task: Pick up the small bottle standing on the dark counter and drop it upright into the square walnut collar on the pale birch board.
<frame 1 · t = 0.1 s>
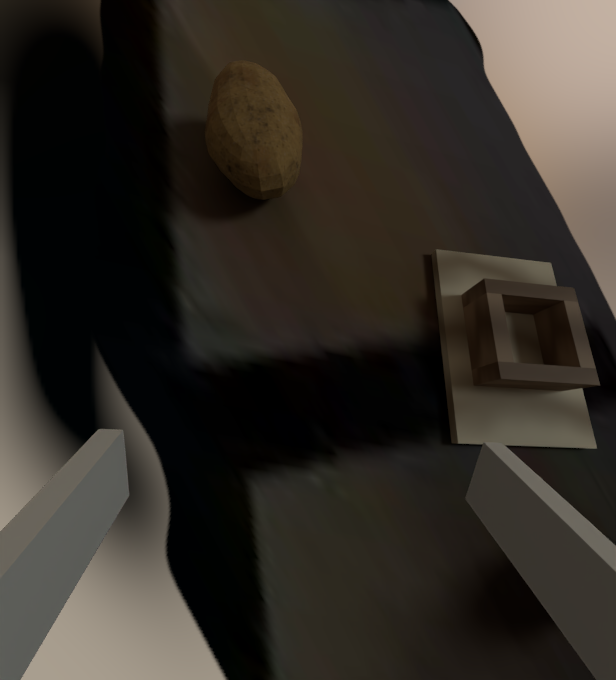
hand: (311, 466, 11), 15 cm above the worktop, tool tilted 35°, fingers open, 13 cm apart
collar board: (503, 344, 32), on the worktop
potato: (257, 175, 34), on the worktop
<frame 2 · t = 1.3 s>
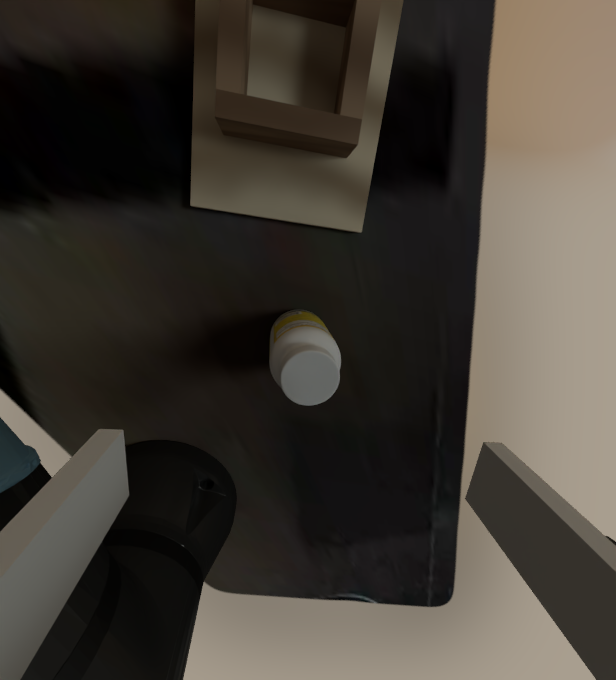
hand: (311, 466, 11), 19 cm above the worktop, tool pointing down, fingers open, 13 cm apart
collar board: (293, 79, 23), on the worktop
supplement bottle: (298, 335, 29), on the worktop
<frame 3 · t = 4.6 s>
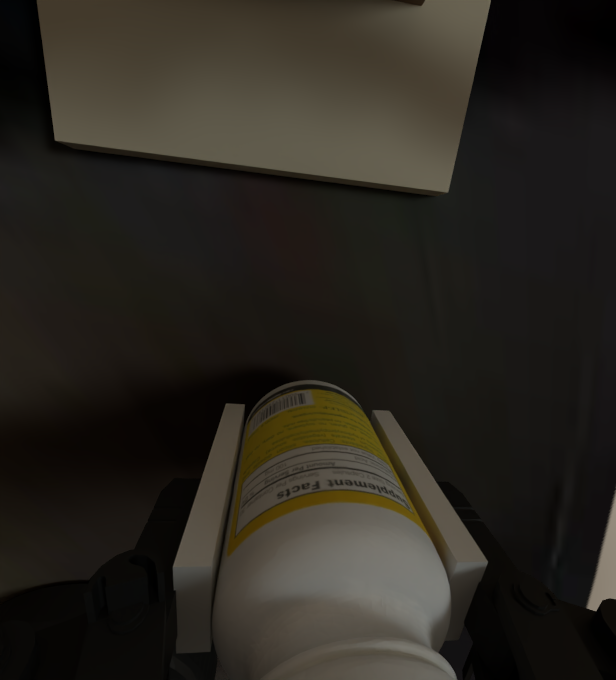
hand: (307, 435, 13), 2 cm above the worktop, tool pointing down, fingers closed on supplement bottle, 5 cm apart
supplement bottle: (306, 429, 14), point 2 cm above the worktop, touching gripper
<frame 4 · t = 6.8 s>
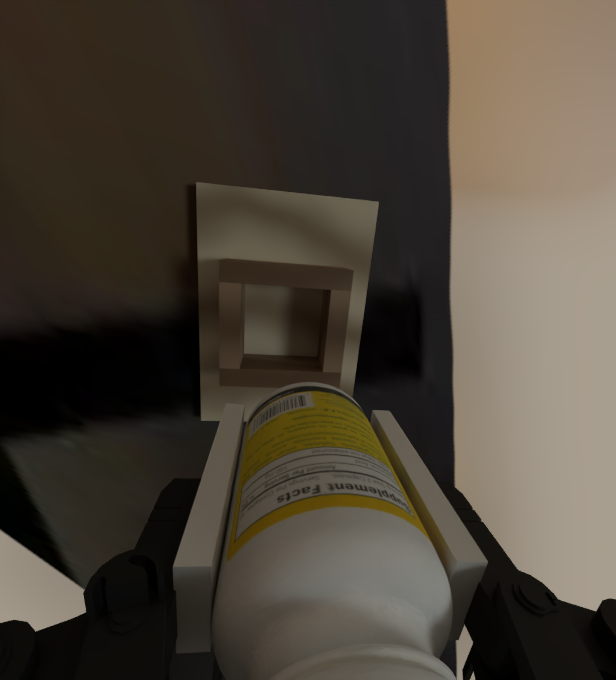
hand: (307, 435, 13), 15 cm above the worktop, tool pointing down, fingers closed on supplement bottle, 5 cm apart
collar board: (282, 317, 27), on the worktop
supplement bottle: (306, 431, 14), point 15 cm above the worktop, touching gripper
when the fingers open (5 cm above the worktop, at t = 9.1 s): supplement bottle drops 4 cm, resting on collar board.
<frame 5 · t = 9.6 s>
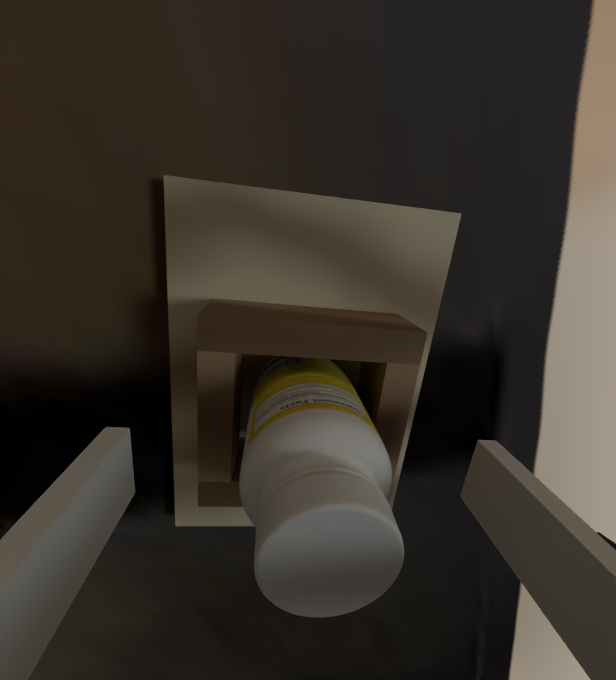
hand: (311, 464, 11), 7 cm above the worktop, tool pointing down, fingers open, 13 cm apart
collar board: (299, 381, 18), on the worktop
supplement bottle: (302, 389, 17), point 1 cm above the worktop, touching collar board
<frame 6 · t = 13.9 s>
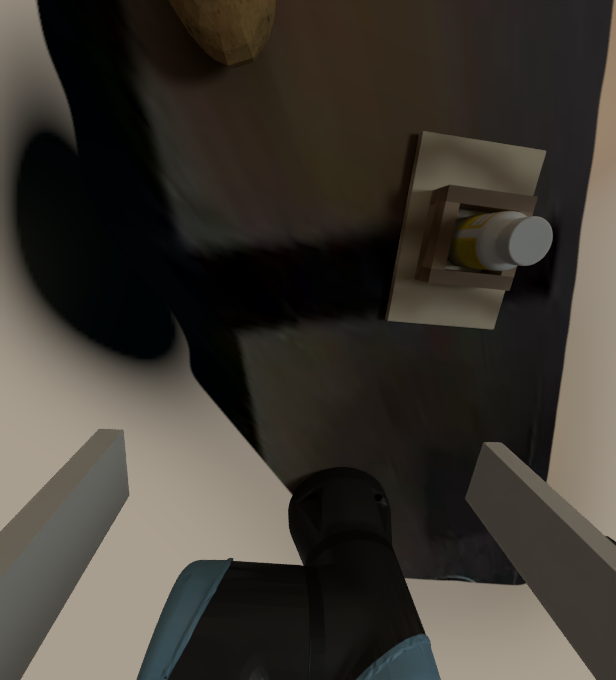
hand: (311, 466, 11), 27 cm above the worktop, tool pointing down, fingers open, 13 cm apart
collar board: (457, 241, 36), on the worktop
potato: (226, 0, 28), on the worktop
supplement bottle: (462, 242, 35), point 1 cm above the worktop, touching collar board
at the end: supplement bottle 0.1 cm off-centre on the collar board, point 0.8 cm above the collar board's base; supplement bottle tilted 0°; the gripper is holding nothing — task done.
